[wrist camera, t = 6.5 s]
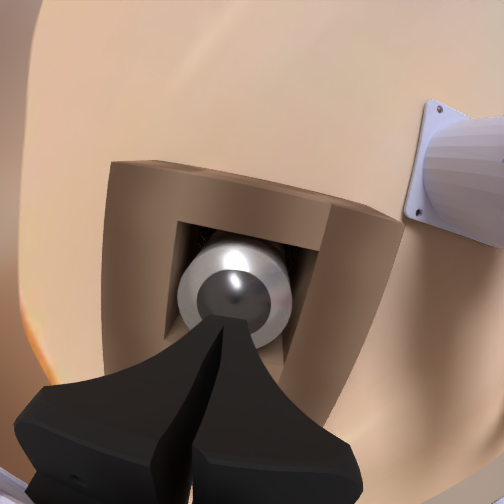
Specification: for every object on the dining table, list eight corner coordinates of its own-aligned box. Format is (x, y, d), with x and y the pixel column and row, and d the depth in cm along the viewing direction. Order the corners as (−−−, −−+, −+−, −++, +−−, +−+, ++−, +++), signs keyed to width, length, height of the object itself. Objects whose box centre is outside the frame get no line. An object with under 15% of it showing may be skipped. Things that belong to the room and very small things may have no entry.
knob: (294, 230, 18) (306, 263, 12) (274, 305, 20) (276, 362, 14) (211, 212, 18) (184, 237, 12) (198, 288, 20) (171, 339, 14)
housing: (365, 205, 18) (405, 224, 12) (278, 446, 24) (278, 498, 19) (157, 160, 18) (111, 161, 12) (139, 416, 24) (117, 463, 18)
